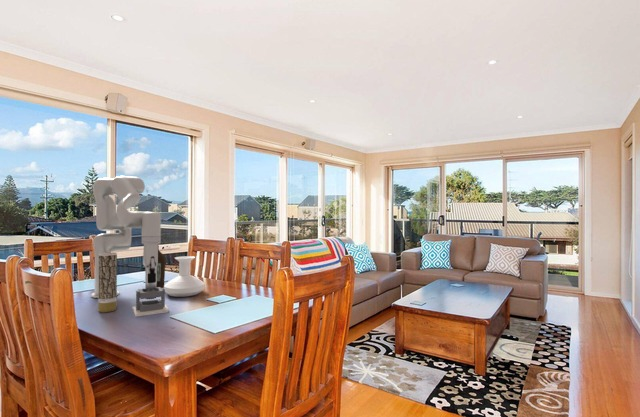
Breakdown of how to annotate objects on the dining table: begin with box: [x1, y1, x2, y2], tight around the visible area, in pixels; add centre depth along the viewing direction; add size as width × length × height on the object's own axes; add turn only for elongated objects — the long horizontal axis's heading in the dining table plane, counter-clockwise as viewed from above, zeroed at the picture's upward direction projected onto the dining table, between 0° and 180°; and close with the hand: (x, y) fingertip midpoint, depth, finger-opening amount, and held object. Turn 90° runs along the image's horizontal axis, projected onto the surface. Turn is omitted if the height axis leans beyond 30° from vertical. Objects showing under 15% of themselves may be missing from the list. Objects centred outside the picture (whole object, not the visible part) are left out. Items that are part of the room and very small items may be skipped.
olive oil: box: [156, 243, 167, 288], centre depth 201 cm, size 11×11×25 cm
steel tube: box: [144, 263, 157, 300], centre depth 157 cm, size 4×4×17 cm
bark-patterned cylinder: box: [97, 252, 118, 313], centre depth 156 cm, size 7×7×25 cm
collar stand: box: [132, 287, 170, 317], centre depth 157 cm, size 13×13×9 cm
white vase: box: [164, 255, 206, 298], centre depth 186 cm, size 20×20×19 cm
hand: (150, 281), depth 157 cm, fingers closed on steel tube, 4 cm apart
